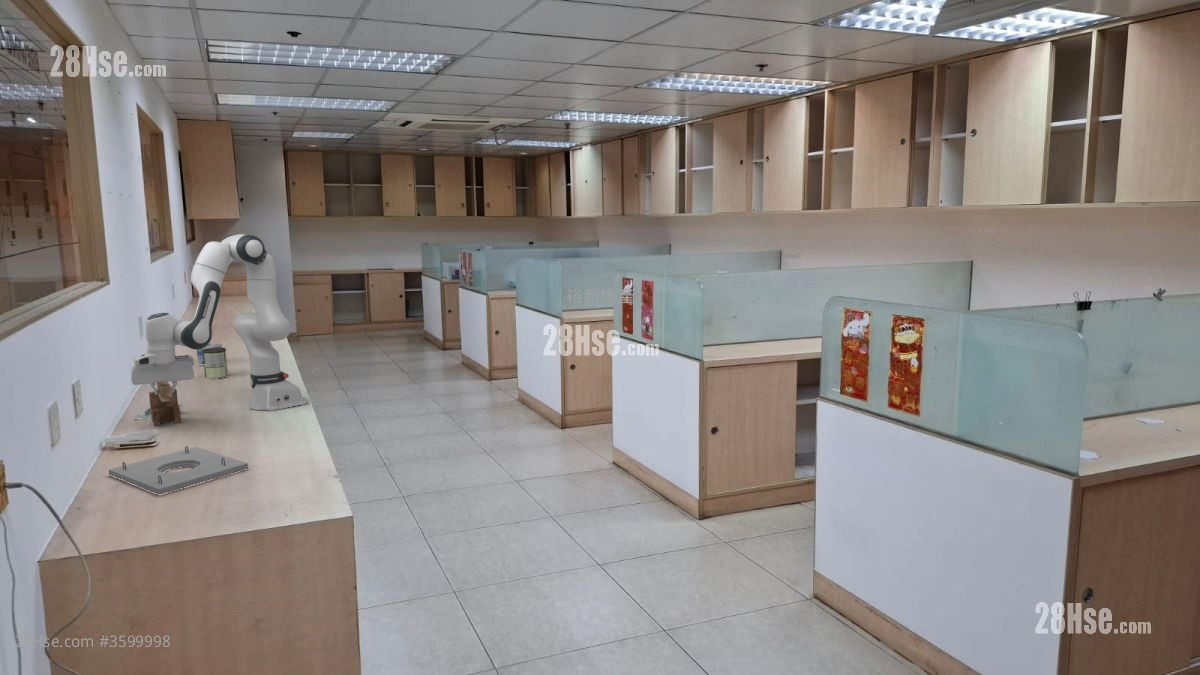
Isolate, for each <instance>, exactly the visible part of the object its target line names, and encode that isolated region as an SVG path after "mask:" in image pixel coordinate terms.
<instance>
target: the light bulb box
mask: <svg viewBox="0 0 1200 675" xmlns="http://www.w3.org/2000/svg"><path fill="white" fill-rule="evenodd" d="M208 348H223V344H222V343H209V344H208V345H207V346H206V347H204V348H202V349H196V354H197V355H196V356H197V365H198V364H204V360H203V352H202V350H204V349H208Z"/></svg>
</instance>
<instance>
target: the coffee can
mask: <svg viewBox="0 0 1200 675" xmlns="http://www.w3.org/2000/svg"><path fill="white" fill-rule="evenodd" d="M202 352H203V360H204V366H203V368H204V379H205V378H208V379H216V378H223V379H225V378H224V377H227V376H228V377H229V372H228V361H227V360H228V359H227V348H225V347H222V348H208V349H204V350H202ZM228 377H227V378H228ZM208 379H207V380H208ZM216 380H217V379H216Z"/></svg>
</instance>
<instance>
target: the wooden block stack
mask: <svg viewBox="0 0 1200 675" xmlns="http://www.w3.org/2000/svg"><path fill="white" fill-rule="evenodd" d="M174 391H175V393H172V401H165V402H162V401H161V400H160V398H159V396H158V395H155V391H154V390H153V391H148V395H149V404H150V405H149V408H151V418H152V420H151V423H153V424H152V426H153V425H154V426H158V427H161V423H160V422H164V423H168V422H169V423H170V422H173V423H174V424H175V425H177V424H182V416H181V407H180V408H179V406H178V404H179V400H178V391H177V389H176V388H174ZM154 426H153V427H154Z"/></svg>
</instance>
